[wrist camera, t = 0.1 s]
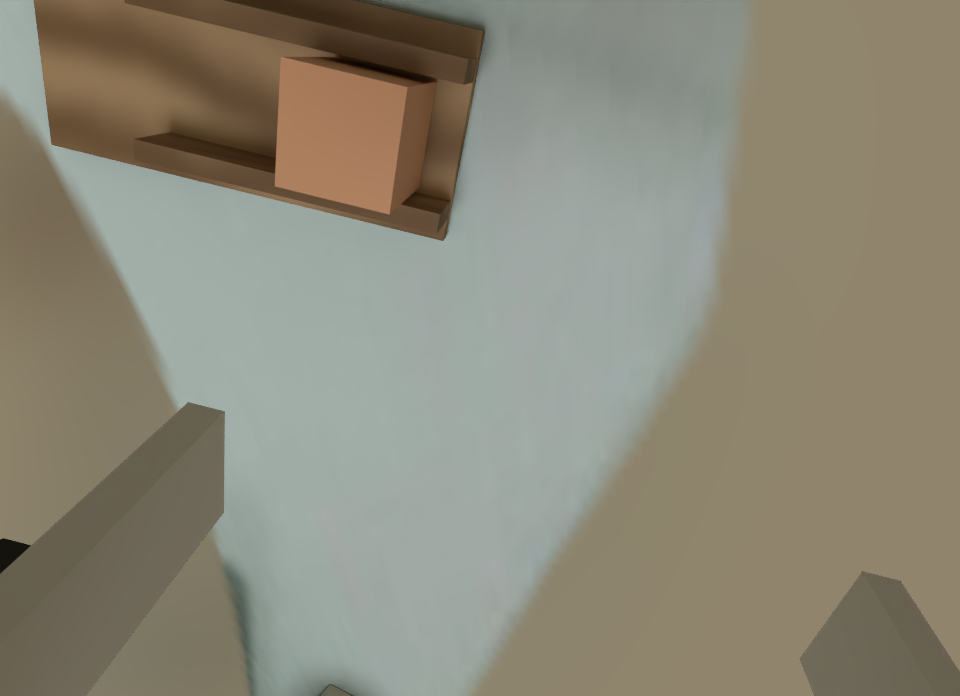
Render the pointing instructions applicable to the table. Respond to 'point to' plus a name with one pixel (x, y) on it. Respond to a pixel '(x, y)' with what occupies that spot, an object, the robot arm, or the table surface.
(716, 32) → the table surface
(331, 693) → the skincare box
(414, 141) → the block
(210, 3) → the chute
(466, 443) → the table surface
